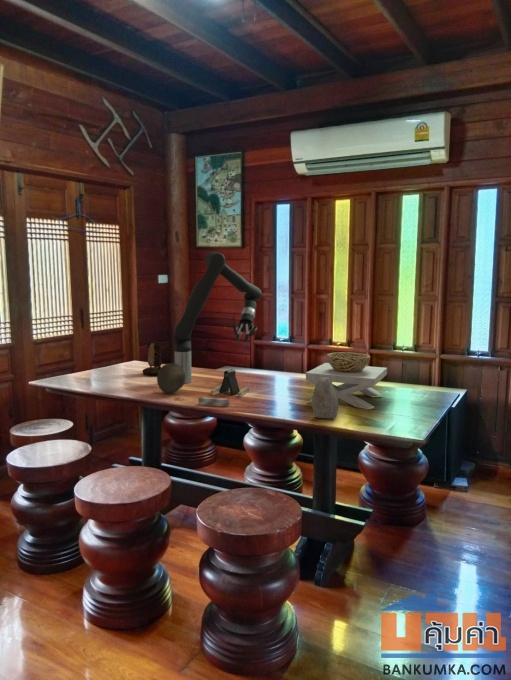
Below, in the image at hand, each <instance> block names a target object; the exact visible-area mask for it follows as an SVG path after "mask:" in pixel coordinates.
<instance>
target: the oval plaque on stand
mask: <svg viewBox="0 0 511 680" xmlns="http://www.w3.org/2000/svg"><path fill="white" fill-rule="evenodd" d="M147 348H148V352H147V353H148V354H147V364H148V366H149V367H146V368H143V370H142V374H143V375H151V377H152V376H153V377H154V375H158V372H159V370H160V369H161V367H162V366H163V365H162V364H163V359H162V358H161V357H162V353H161V352H162V351H161V350H162V348H163V344H162V342H160V341H154V340H149V341H148V343H147Z"/></svg>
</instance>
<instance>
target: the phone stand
mask: <svg viewBox="0 0 511 680" xmlns="http://www.w3.org/2000/svg"><path fill="white" fill-rule="evenodd" d="M220 385H221V388H220V391H219V392H218V393H221V394H220V395H227V396H232V395H234V396H236V394H237V395H238V392H240V391H241V390H240V387H239V383H238V380H237V376H236V370H235V369H231V368H230V369H227V370H224V372H223V379H222V382H221V384H220Z"/></svg>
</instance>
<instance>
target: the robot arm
mask: <svg viewBox="0 0 511 680" xmlns="http://www.w3.org/2000/svg"><path fill="white" fill-rule="evenodd" d="M204 262H205V265H206V266H207V269H206V270H205V272H204V274H203V276H202V277H201V278H200V279H199V280H198V282H197V283H196V284H195V285H194V287H193V289H192V291H191V292H190V295H189V298H188V300H187V303H186V307H185V309H184V312H183V315H182V316H181V319H180V320H179V321H178V322H177V323H176V324H175V325H174V327H173V347H174V351H173V352H174V353H173V354H174V355H173V356H174V363H175V364H178V365H179V366H181V367H182V368H183V370H184V372H185V375H186V379H185V383H184V384H189V383H192V339H191V338H192V332H193V329H194V326H195V324H196V321H197V319H198V317H199V315H200V313H201V312H202V310H203V308H204V306H205V305H206V303H207V300H208V298H209V296H210V293H211V291H212V289H213V288H214V285H215V283H216V281H217V279H218V278H219V275H221V276H222V278H224V279H225V280H227V281H228V282H229V283H230V284H231V285H232V287H234V288H235V289H236V290H237V291H238V292H239V293H244V295H243V302H244V305H243V309H242V311H241V315H240V319H239V323H238V324H237V325H235V324H233V325H232V328H233V332H234V333H233V334H234V336H236V337H235V340H236V343H237V342H238V343H239V342H240V338H241V335H242V334H243V333H246V334H245V337H244V342H245V343H247V342H248V341H249V338H250V337H253V336H254V334H255V333H256V332H257V330H258V327H257V325H254V321H255V319H256V311H257V307H258V306H257V303H256V301H258V300H260V299H261V298H262V296H263V292H262V290H261V289H260V288H259V287H258V286H256V285H254V284H252V283H250V282H248V281H247V279H245V278H244V277H243V276H242V275H241V274H239V273H238V272H237V271H235V270H233V269H232V268H231V267H230V266H228V265H227V264H226V257H225V255H224V254H223V253H222V252H218V251H210V252H208V253H206V255H205V257H204ZM237 330H238V331H237Z"/></svg>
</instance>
